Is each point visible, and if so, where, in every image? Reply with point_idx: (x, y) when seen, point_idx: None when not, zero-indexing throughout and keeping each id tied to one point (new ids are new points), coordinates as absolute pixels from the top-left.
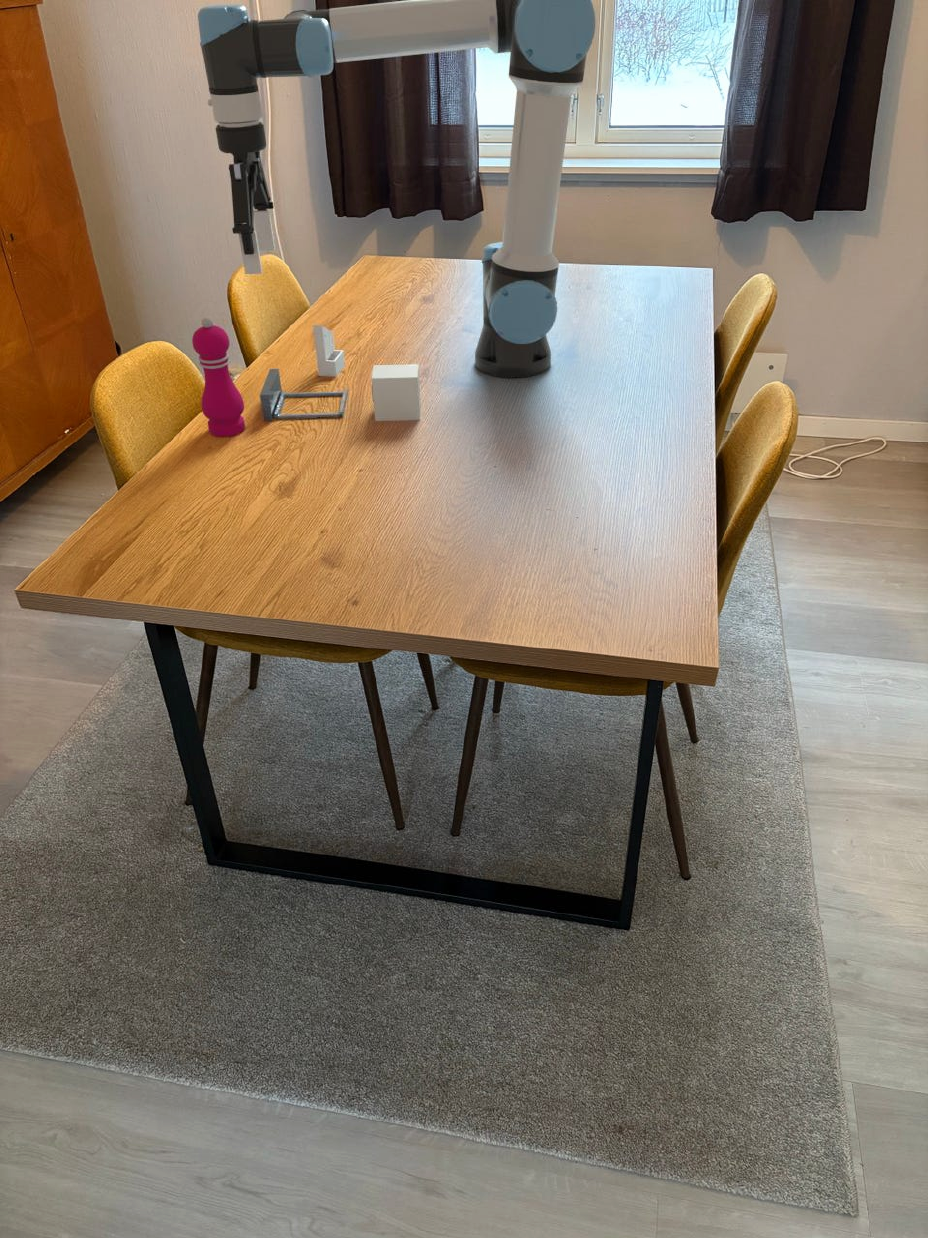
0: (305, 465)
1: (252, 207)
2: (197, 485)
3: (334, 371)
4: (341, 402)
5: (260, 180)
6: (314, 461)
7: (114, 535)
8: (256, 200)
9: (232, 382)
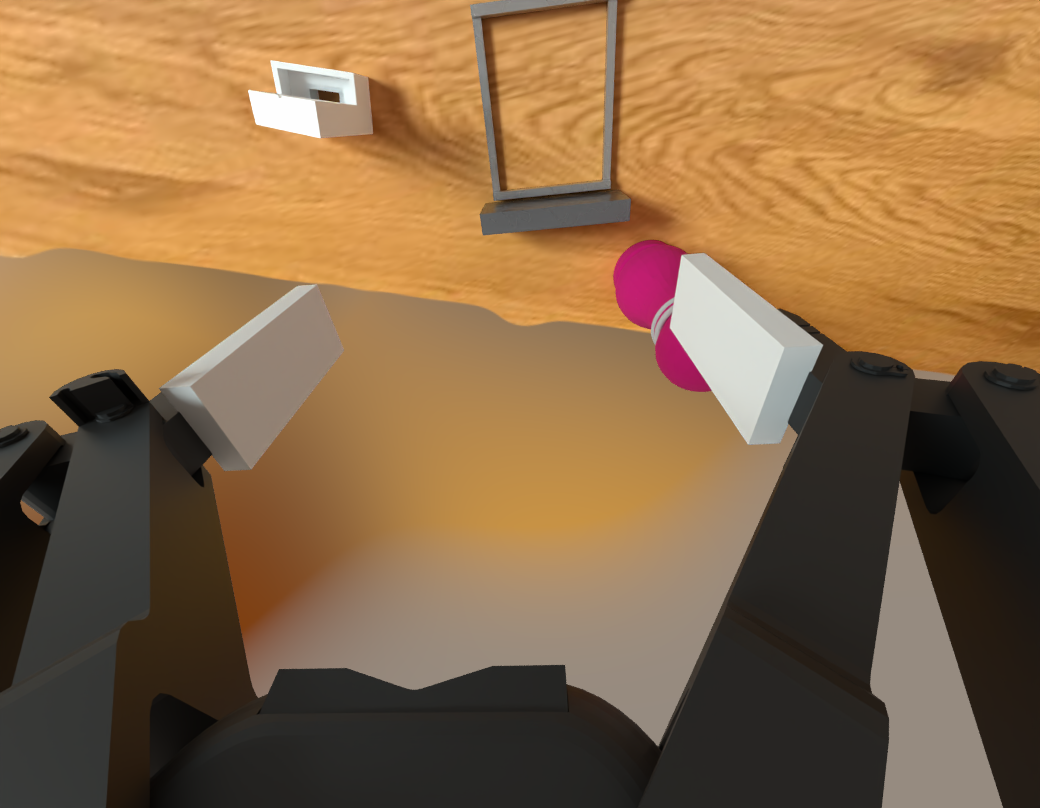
0: (864, 42)
1: (847, 479)
2: (854, 263)
3: (364, 81)
4: (557, 4)
5: (133, 673)
6: (853, 19)
7: (960, 336)
8: (200, 501)
9: (669, 278)
